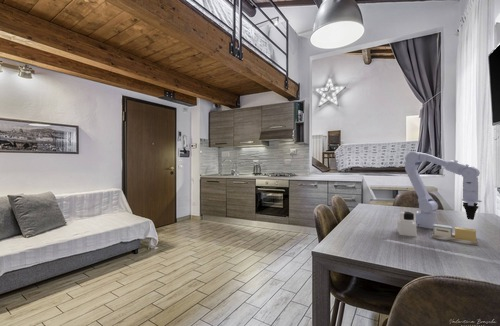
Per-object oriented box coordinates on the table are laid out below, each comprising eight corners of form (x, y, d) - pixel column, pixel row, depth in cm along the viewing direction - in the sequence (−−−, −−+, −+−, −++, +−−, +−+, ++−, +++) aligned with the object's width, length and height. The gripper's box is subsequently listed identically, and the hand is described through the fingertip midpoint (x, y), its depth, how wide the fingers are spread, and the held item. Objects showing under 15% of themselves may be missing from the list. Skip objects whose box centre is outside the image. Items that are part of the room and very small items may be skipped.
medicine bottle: (413, 234, 120) (413, 211, 120) (416, 238, 114) (416, 214, 114) (397, 232, 123) (397, 210, 123) (399, 236, 117) (399, 212, 117)
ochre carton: (475, 241, 106) (475, 229, 106) (475, 243, 103) (475, 231, 103) (455, 238, 111) (455, 226, 111) (454, 240, 108) (454, 228, 108)
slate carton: (433, 236, 113) (433, 225, 113) (433, 234, 116) (433, 223, 116) (452, 239, 109) (452, 228, 109) (452, 237, 112) (452, 226, 112)
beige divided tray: (431, 239, 112) (431, 234, 112) (434, 231, 126) (434, 227, 126) (477, 247, 102) (477, 242, 102) (475, 237, 115) (475, 233, 115)
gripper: (482, 193, 108) (482, 222, 108) (480, 190, 119) (480, 216, 119) (462, 191, 113) (462, 219, 113) (462, 189, 123) (462, 214, 124)
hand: (470, 218), depth 116 cm, fingers open, 7 cm apart
